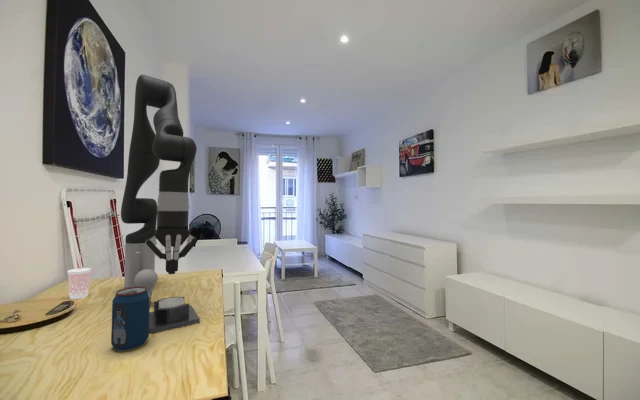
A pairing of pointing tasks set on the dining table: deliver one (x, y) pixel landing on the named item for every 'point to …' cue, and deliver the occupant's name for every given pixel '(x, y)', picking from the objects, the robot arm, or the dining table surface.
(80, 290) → the beverage cup
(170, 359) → the dining table surface
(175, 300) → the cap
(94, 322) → the dining table surface
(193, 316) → the ball socket plate
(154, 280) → the lightbulb
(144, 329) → the soda can
